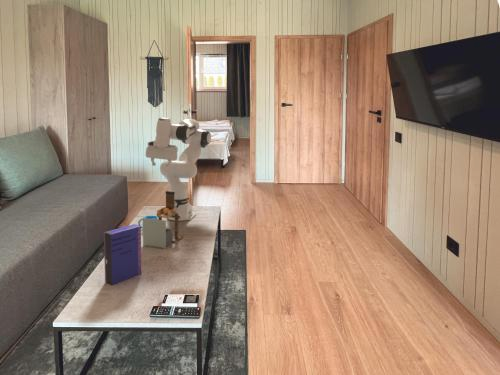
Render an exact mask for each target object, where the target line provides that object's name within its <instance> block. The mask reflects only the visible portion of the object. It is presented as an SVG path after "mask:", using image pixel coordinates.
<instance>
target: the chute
mask: <svg viewBox="0 0 500 375" xmlns="http://www.w3.org/2000/svg"><path fill="white" fill-rule="evenodd" d="M174 194H175V192H170V190H167V191H166V190H165V206H163V207H161V208H158V209H157V210H156V216H157V218H158V217H162V219H164V218H165V219H168V218H170V217H173V218H175V216H174V215H175V213H177V207H174ZM165 208H168V209H169V211H168V214H164V212H163V210H164V209H165Z"/></svg>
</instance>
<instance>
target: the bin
mask: <svg viewBox="0 0 500 375" xmlns="http://www.w3.org/2000/svg"><path fill="white" fill-rule="evenodd" d="M142 218H143V220H142V227H143V229H142V246H144V247H150V248H156V249H157V248H158V249H162V250H164V249H165V250H166V249H167V247H168V246H170V245H171V244H173V235H174V234H173V228H172V229H171V228H167V224H166V223H167V222H166V221H167V220H163V219H162V220H158V219H157V220H156V219H148V218H144V217H142Z"/></svg>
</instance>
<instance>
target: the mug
mask: <svg viewBox="0 0 500 375" xmlns="http://www.w3.org/2000/svg"><path fill="white" fill-rule="evenodd" d="M143 218H148V219H156V220H158V217H157V215H146V216H144V217H142V218H141V219H139V220H138V222H137V223H138V224H137V225H139V226H141V230H143V225H141V222H142V221H143Z"/></svg>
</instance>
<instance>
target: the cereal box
mask: <svg viewBox="0 0 500 375" xmlns="http://www.w3.org/2000/svg"><path fill="white" fill-rule="evenodd" d="M141 226H142V225H141ZM141 226H139V225H138V224H134V223H133V224H129V225H126V226H122V227H119V228H115V229H111V230H107V231H104V232H103V250H104V251H103V252H104V257H103V258H104V283H106V284H108V285H110V286H113V285H114V286H115V285H117V284H118V283H121V282H125V281H127V280H129V279H132V278H135V277H137V276H139V275H140V276H141V275H142V272H143V271H142V228H141Z"/></svg>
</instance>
